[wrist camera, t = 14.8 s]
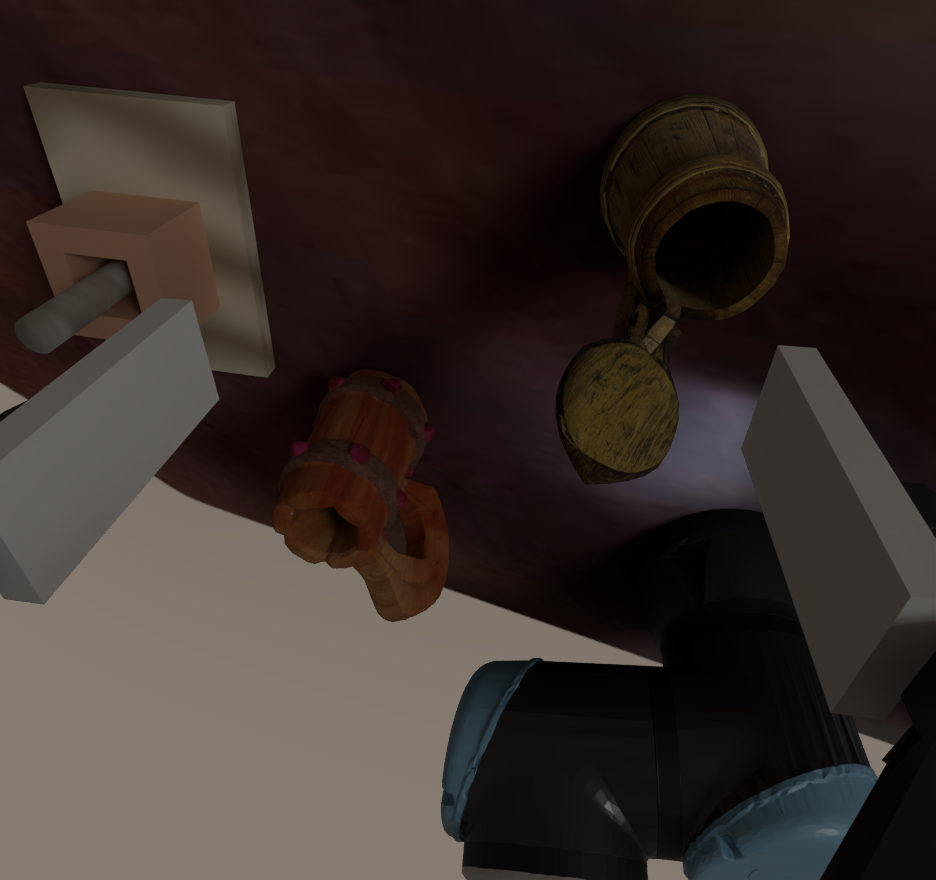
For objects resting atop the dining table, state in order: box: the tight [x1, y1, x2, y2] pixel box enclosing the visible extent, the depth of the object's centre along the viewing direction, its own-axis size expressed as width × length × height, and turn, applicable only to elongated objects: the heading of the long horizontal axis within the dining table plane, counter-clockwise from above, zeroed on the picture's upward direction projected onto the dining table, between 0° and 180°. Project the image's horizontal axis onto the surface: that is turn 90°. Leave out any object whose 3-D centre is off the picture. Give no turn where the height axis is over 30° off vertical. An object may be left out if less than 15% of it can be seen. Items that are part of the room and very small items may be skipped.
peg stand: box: [14, 82, 275, 377], centre depth 37 cm, size 18×12×14 cm, turn 176°
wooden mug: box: [556, 94, 790, 485], centre depth 29 cm, size 9×14×18 cm, turn 148°
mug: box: [272, 370, 449, 622], centre depth 43 cm, size 15×8×15 cm, turn 34°
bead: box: [26, 190, 221, 339], centre depth 38 cm, size 7×7×6 cm
